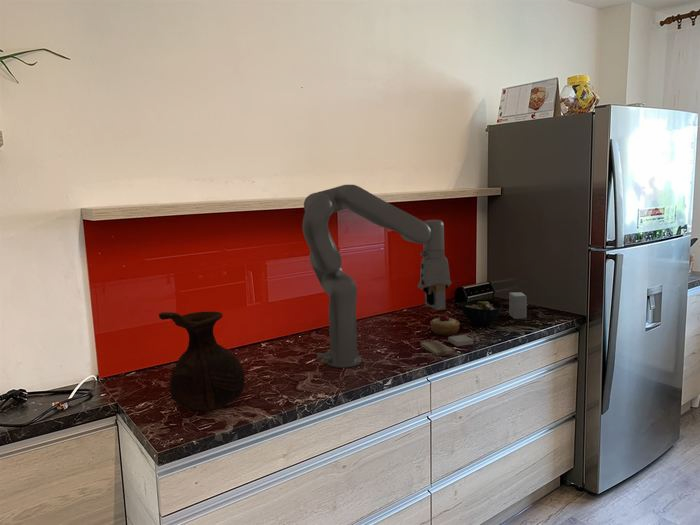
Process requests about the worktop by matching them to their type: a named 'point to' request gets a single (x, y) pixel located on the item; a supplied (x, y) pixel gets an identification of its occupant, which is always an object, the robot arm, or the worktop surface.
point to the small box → (518, 305)
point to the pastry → (445, 325)
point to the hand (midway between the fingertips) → (435, 303)
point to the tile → (460, 340)
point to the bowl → (481, 311)
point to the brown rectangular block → (437, 297)
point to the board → (437, 348)
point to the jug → (204, 366)
